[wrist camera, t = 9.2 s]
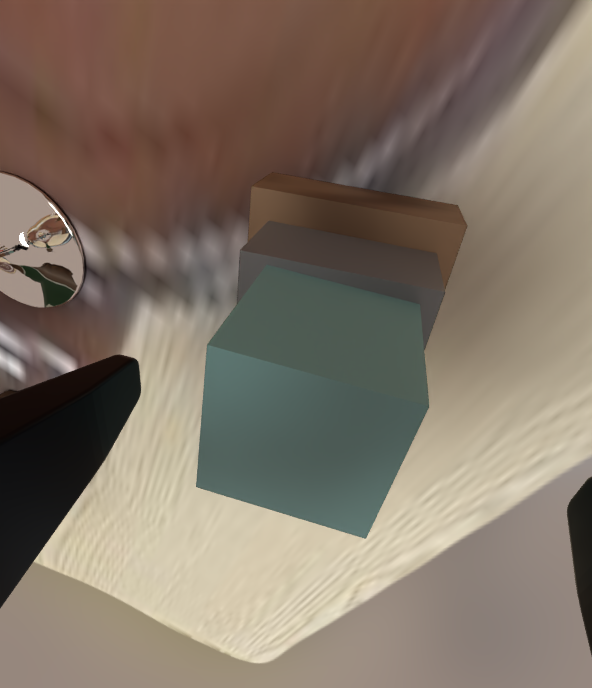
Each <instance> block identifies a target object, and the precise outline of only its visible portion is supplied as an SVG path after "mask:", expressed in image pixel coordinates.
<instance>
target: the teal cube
mask: <svg viewBox="0 0 592 688" xmlns="http://www.w3.org/2000/svg"><path fill="white" fill-rule="evenodd" d="M428 408H429V398H428V387H427V376H426V365H425V354H424V343H423V332H422V321H421V310H420V304H417V303H413V302H409V301H405V300H401V299H397V298H394V297H390V296H386V295H382V294H378V293H374V292H370V291H366V290H363V289H359V288H355V287H351V286H347V285H343V284H339V283H336V282H332V281H328V280H324V279H320V278H316V277H312V276H308V275H305V274H301V273H297V272H293V271H289V270H285V269H281V268H278V267H274V266H270V265H266V266H265V267H264V269H263V270H262V272H261V273H260V274H259V276H258V277H257V278H256V280H255V281H254V282H253V284H252V285H251V286H250V288H249V289H248V290H247V292H246V293H245V294H244V296H243V297H242V298H241V300H240V301H239V303H238V304H237V305H236V307H235V308H234V309H233V311H232V312H231V313H230V315H229V316H228V317H227V319H226V320H225V321H224V323H223V324H222V325H221V327H220V328H219V330H218V331H217V332H216V334H215V335H214V336H213V338H212V339H211V340H210V342H209V343H208V344H207V353H206V366H205V379H204V392H203V405H202V418H201V430H200V443H199V456H198V469H197V482H196V487H198V488H201V489H204V490H208V491H211V492H214V493H217V494H221V495H224V496H227V497H231V498H234V499H237V500H240V501H244V502H247V503H250V504H254V505H257V506H260V507H263V508H267V509H270V510H273V511H277V512H280V513H283V514H286V515H290V516H293V517H296V518H299V519H303V520H306V521H309V522H313V523H316V524H319V525H322V526H326V527H329V528H332V529H336V530H339V531H342V532H345V533H349V534H352V535H355V536H358V537H362V538H365V539H366V537H367V535H368V533H369V531H370V529H371V527H372V525H373V523H374V521H375V519H376V517H377V514H378V512H379V510H380V508H381V506H382V504H383V502H384V500H385V498H386V496H387V494H388V491H389V489H390V487H391V485H392V483H393V481H394V479H395V477H396V475H397V473H398V471H399V469H400V466H401V464H402V462H403V460H404V458H405V456H406V454H407V452H408V450H409V448H410V446H411V443H412V441H413V439H414V437H415V435H416V433H417V431H418V429H419V427H420V425H421V423H422V420H423V418H424V416H425V414H426V412H427V410H428Z"/></svg>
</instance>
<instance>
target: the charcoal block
mask: <svg viewBox="0 0 592 688" xmlns="http://www.w3.org/2000/svg"><path fill="white" fill-rule="evenodd" d="M266 265H270V266H274V267H278V268H281V269H285V270H289V271H293V272H297V273H301V274H305V275H308V276H312V277H316V278H320V279H324V280H328V281H332V282H336V283H339V284H343V285H347V286H351V287H355V288H359V289H363V290H366V291H370V292H374V293H378V294H382V295H386V296H390V297H394V298H397V299H401V300H405V301H409V302H413V303H417V304H420V310H421V321H422V332H423V343H424V350H425V347H426V344H427V342H428V339H429V336H430V333H431V330H432V328H433V325H434V322H435V319H436V316H437V314H438V311H439V308H440V305H441V302H442V300H443V297H444V294H445V289H444V284H443V279H442V275H441V270H440V266H439V261H438V256H437V253H433V252H427V251H422V250H417V249H412V248H407V247H402V246H397V245H391V244H386V243H381V242H376V241H371V240H366V239H361V238H356V237H350V236H345V235H340V234H335V233H330V232H325V231H320V230H314V229H309V228H304V227H299V226H294V225H289V224H284V223H278V222H273V221H268V222H267V223H266V224H265V225H264V226H263V227H262V228H261V229H260V230H259V231H258V232H257V233H256V234H255V235H254V236H253V237H252V238H251V239H250V240H249V241H248V242H247V244H246V245H245V246H244V247H243V248H242V249H241V250H240V260H239V277H238V295H237V304H238V303H239V301H240V300H241V298H242V297H243V296H244V294H245V293H246V292H247V290H248V289H249V288H250V286H251V285H252V284H253V282H254V281H255V280H256V278H257V277H258V276H259V274H260V273H261V272H262V270H263V269H264V267H265V266H266Z"/></svg>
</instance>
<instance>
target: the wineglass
mask: <svg viewBox="0 0 592 688" xmlns="http://www.w3.org/2000/svg"><path fill="white" fill-rule="evenodd" d="M84 272H85V267H84V256H83V252H82V248H81V244H80V242H79V240H78V237H77V235H76V233H75V231H74V229H73V227H72V226H71V224H70V222H69V221H68V219H67V217H66V216H65V215H64V213H63V212H62V211H61V210H60V209H59V207H58V206H57V205H56V204H55V203H54V202H53V201H52V200H51V199H50V198H49V197H48V196H47V195H46V194H45V193H44V192H42V191H41V190H40V189H38V188H37V187H35V186H34V185H33V184H31V183H29V182H27V181H25V180H23V179H21V178H19V177H18V176H15V175H11V174H8V173H5V172H0V291H1V292H3V293H4V294H6V295H7V296H9V297H10V298H12V299H14V300H16V301H18V302H20V303H23V304H26V305H29V306H33V307H39V308H54V307H58V306H61V305H64V304H66V303H68V302H69V301H70V300H72V299H73V298H74V297H75V296H76V294H77V293H78V292H79V290H80V288H81V285H82V283H83V279H84Z"/></svg>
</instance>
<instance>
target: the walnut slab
mask: <svg viewBox="0 0 592 688" xmlns="http://www.w3.org/2000/svg"><path fill="white" fill-rule="evenodd" d="M268 221H273V222H278V223H284V224H289V225H294V226H299V227H304V228H309V229H314V230H320V231H325V232H330V233H335V234H340V235H345V236H350V237H356V238H361V239H366V240H371V241H376V242H381V243H386V244H391V245H397V246H402V247H407V248H412V249H417V250H422V251H427V252H433V253H437V256H438V261H439V266H440V270H441V275H442V279H443V284H444V289H445V288H446V285H447V282H448V280H449V277H450V274H451V271H452V268H453V265H454V262H455V260H456V257H457V254H458V251H459V248H460V245H461V243H462V240H463V237H464V234H465V231H466V228H467V224H466V222H465V220H464V218H463V216H462V214H461V211H460V209H459V207H458V205H453V204H447V203H441V202H436V201H430V200H425V199H419V198H413V197H408V196H402V195H396V194H391V193H385V192H380V191H374V190H368V189H363V188H357V187H352V186H346V185H340V184H335V183H329V182H324V181H318V180H312V179H307V178H301V177H296V176H290V175H284V174H279V173H273V172H272V173H270V174H269V175H267V176H266V177H265V178H263V179H262V180H260V181H259V182H257V183H256V184H254V185H253V186H251V201H250V216H249V232H248V241H249V240H250V239H251V238H252V237H253V236H254V235H255V234H256V233H257V232H258V231H259V230H260V229H261V228H262V227H263V226H264V225H265V224H266V223H267V222H268Z"/></svg>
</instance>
